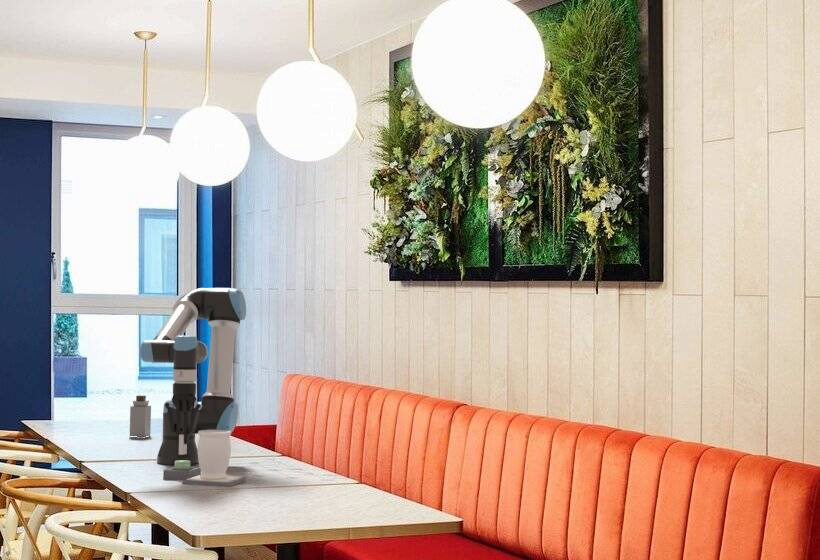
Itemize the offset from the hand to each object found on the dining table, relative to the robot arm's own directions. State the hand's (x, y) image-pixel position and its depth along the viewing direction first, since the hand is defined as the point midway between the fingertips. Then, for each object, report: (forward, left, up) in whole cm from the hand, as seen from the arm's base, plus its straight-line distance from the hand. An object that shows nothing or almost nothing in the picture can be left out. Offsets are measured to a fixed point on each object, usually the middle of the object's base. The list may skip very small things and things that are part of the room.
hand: (182, 454), depth 367 cm
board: (+14, -5, -8) cm, 17 cm away
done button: (0, 0, -6) cm, 6 cm away
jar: (+13, -5, -7) cm, 16 cm away
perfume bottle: (-72, +101, -8) cm, 124 cm away
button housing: (0, 0, -8) cm, 8 cm away
